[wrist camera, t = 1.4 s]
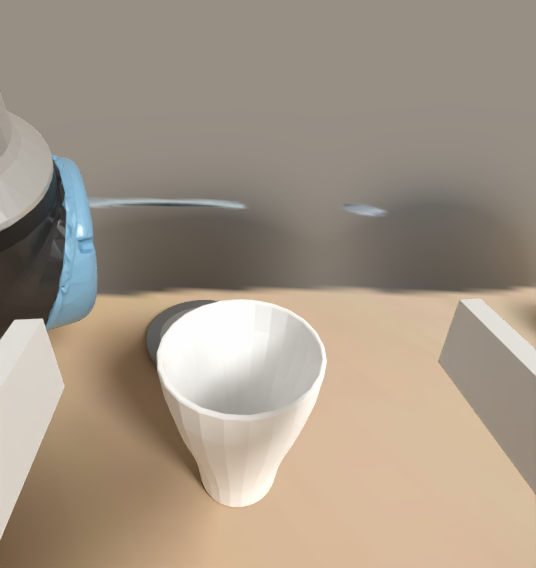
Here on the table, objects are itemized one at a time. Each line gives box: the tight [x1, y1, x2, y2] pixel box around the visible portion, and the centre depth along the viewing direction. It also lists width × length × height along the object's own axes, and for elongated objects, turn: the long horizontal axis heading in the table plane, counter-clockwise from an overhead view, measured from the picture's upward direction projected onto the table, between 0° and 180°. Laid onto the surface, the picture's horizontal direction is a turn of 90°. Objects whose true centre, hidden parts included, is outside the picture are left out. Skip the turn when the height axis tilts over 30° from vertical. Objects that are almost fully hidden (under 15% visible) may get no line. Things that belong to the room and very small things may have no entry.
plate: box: [146, 300, 218, 366], centre depth 44 cm, size 12×12×1 cm
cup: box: [156, 299, 327, 507], centre depth 28 cm, size 10×10×14 cm
